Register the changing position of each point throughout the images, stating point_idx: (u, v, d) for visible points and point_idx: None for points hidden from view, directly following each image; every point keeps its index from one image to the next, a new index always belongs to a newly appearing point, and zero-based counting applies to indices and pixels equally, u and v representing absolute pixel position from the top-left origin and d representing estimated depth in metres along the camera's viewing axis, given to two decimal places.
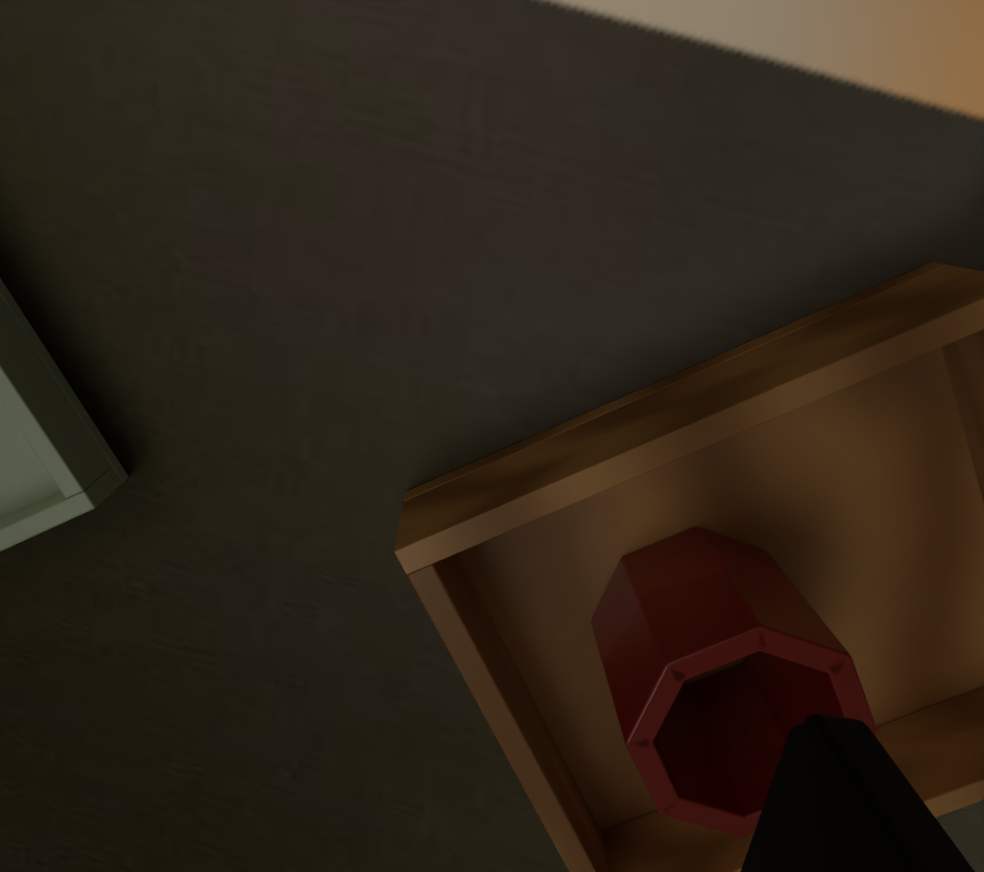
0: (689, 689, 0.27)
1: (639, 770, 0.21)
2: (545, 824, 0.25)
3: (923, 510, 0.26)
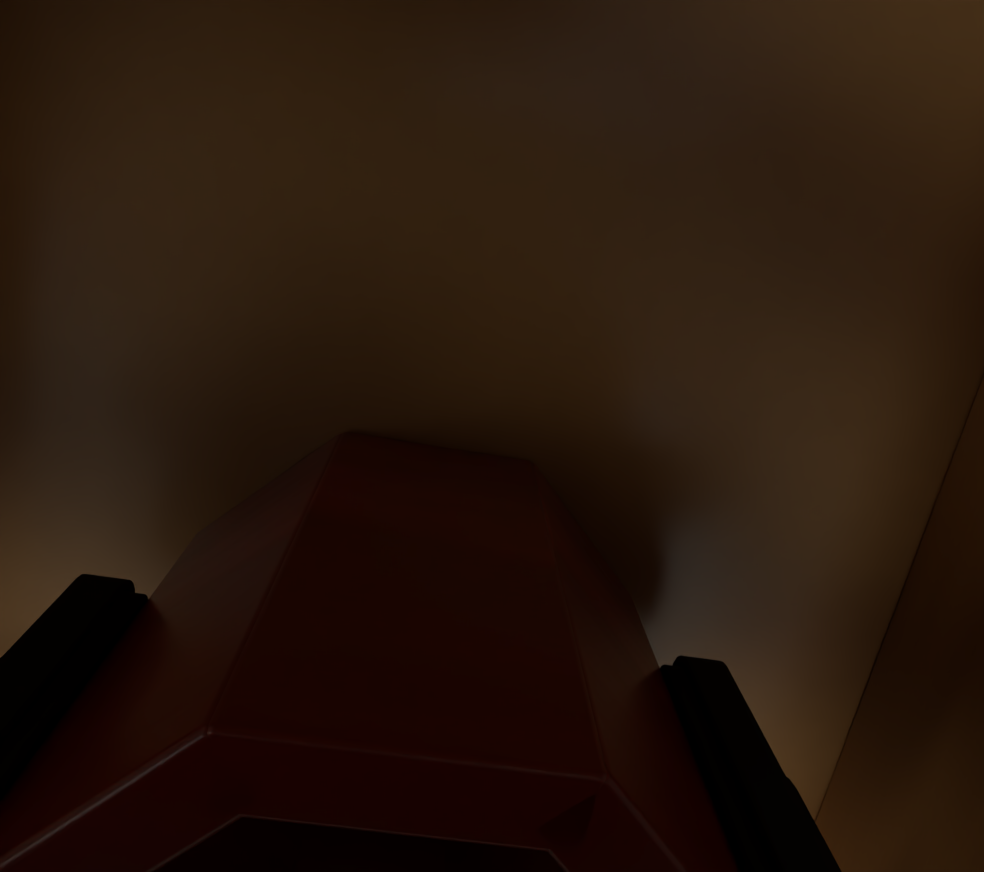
0: None
1: None
2: None
3: (469, 26, 0.09)
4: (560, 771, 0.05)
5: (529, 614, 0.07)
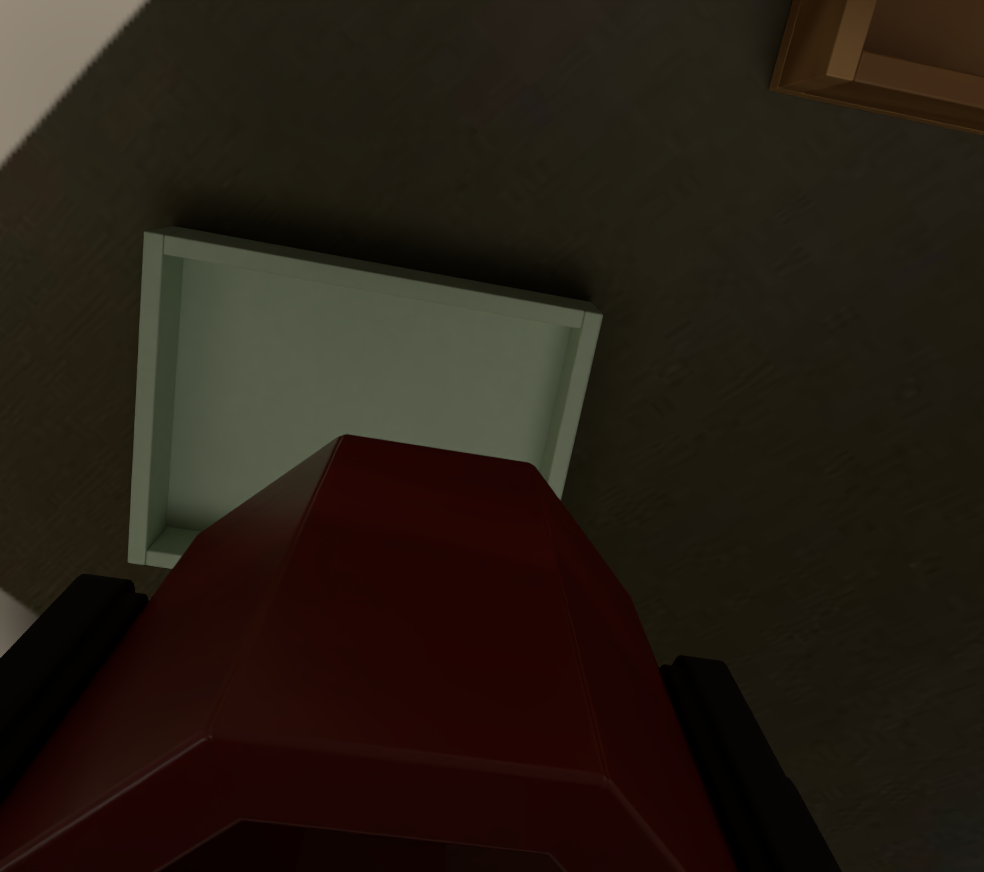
0: None
1: None
2: None
3: None
4: (560, 775, 0.05)
5: (529, 617, 0.07)
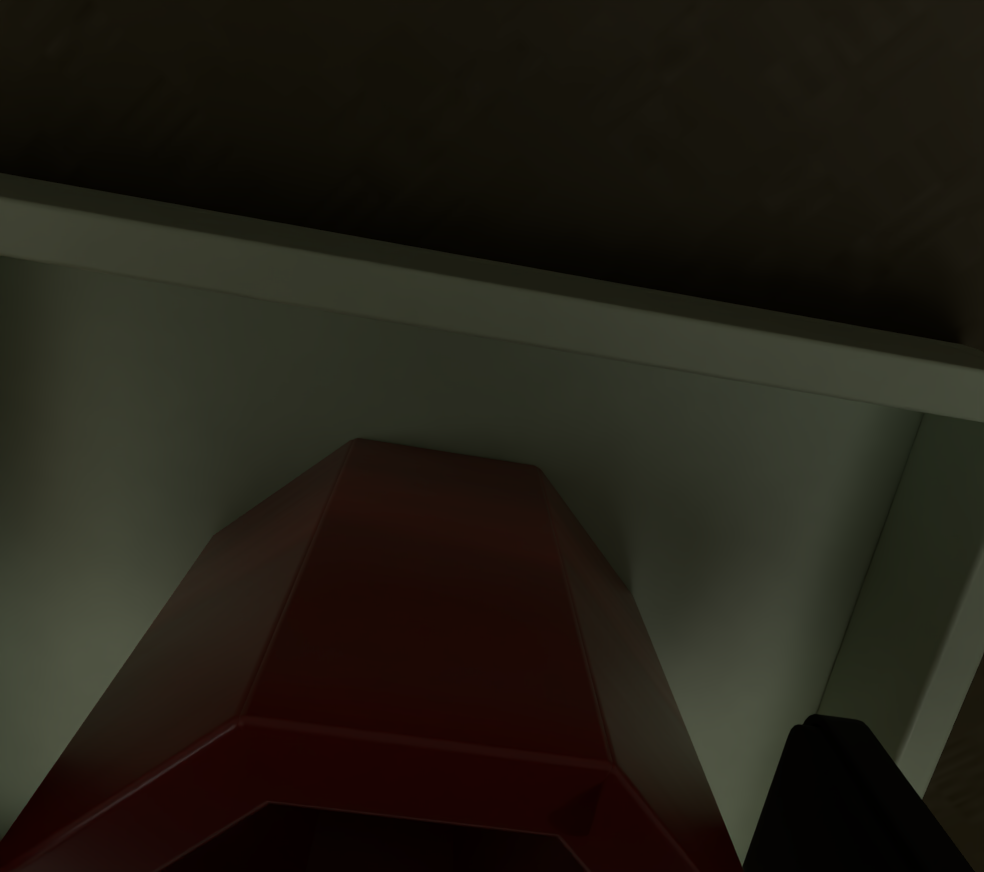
0: None
1: None
2: None
3: None
4: (569, 760, 0.05)
5: (537, 613, 0.07)
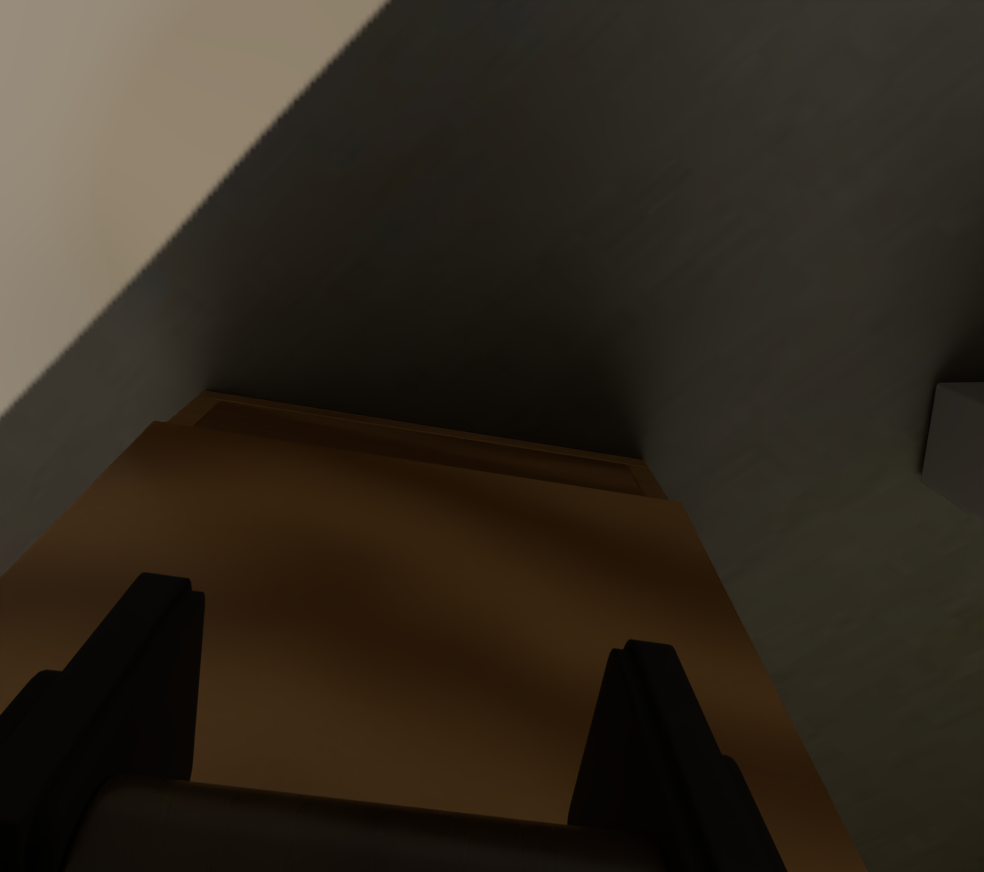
0: None
1: None
2: None
3: None
4: None
5: None
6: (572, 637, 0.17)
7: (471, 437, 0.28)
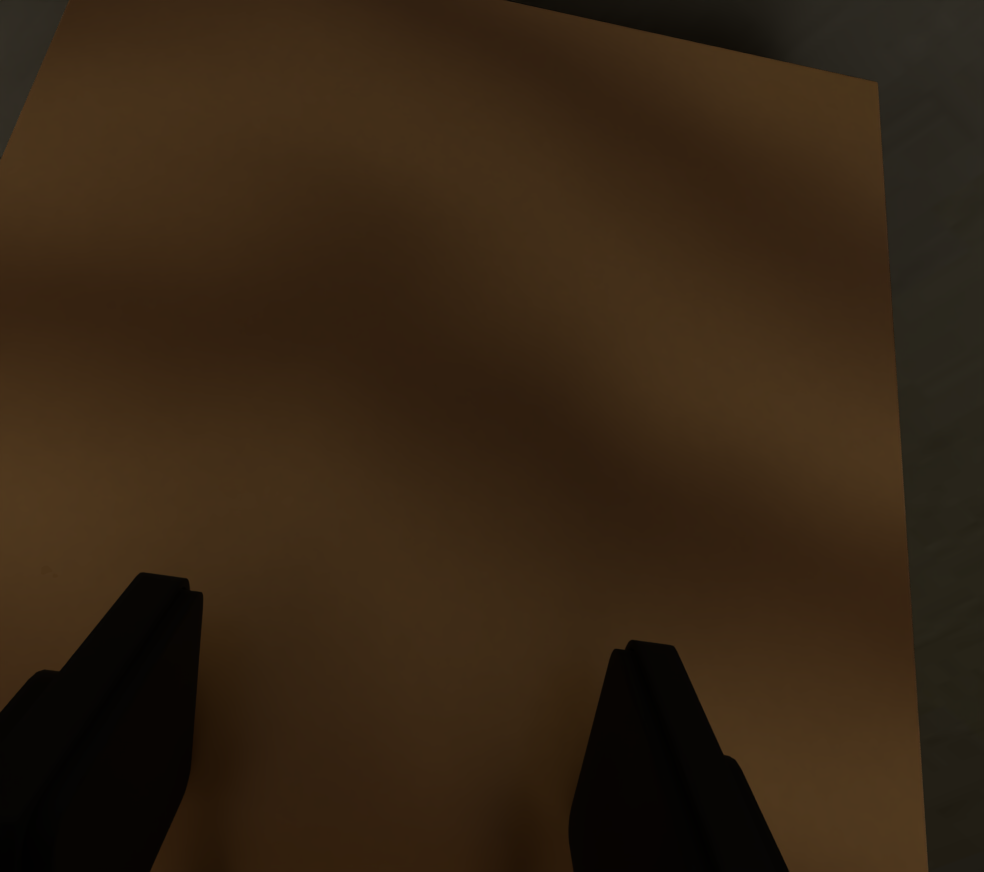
0: None
1: None
2: None
3: None
4: None
5: None
6: (664, 369, 0.13)
7: None
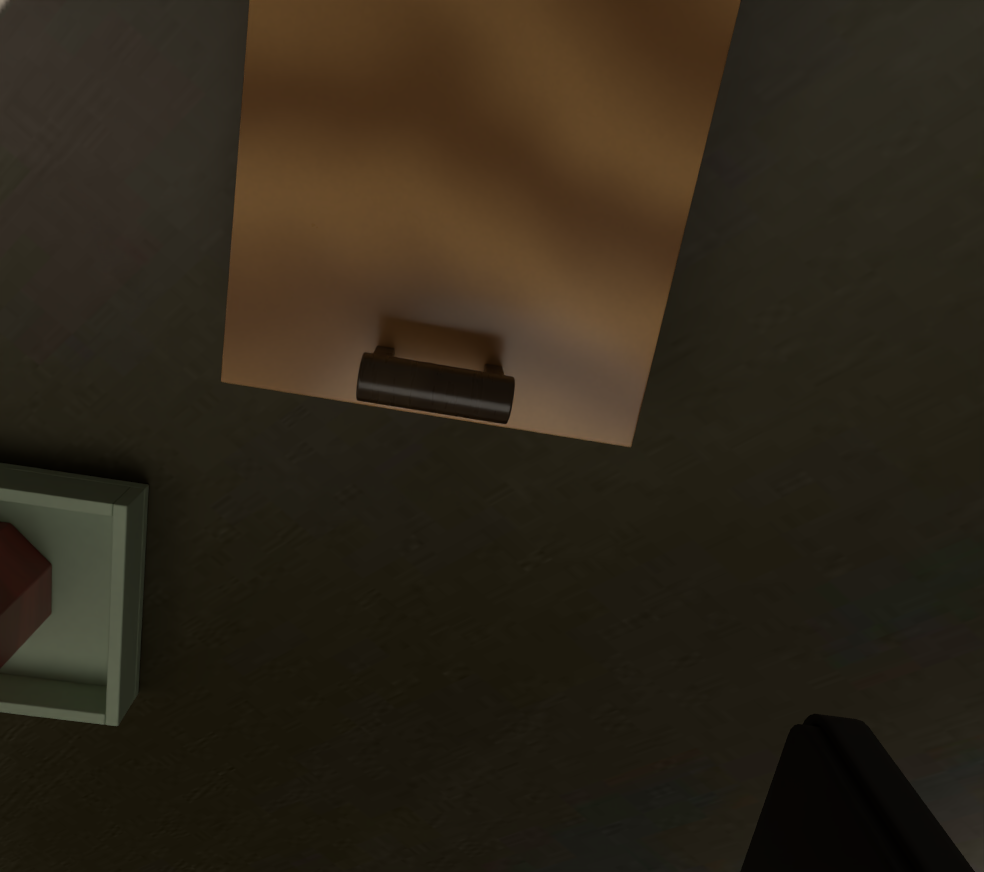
0: None
1: None
2: None
3: None
4: None
5: None
6: (583, 127, 0.27)
7: None
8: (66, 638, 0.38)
